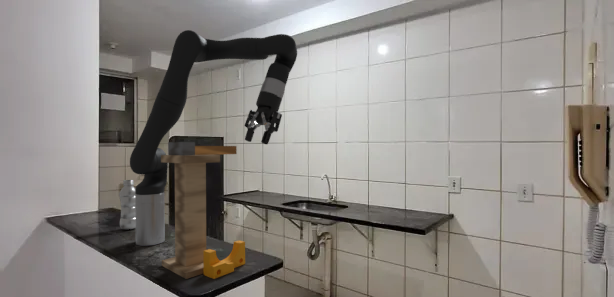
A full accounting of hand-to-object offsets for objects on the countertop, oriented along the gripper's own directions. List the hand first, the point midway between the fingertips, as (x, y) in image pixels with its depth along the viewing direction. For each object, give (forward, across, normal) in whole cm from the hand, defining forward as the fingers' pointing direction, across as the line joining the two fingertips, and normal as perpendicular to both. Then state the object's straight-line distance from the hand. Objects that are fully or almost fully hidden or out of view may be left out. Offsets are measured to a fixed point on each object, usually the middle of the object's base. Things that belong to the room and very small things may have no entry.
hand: (255, 142), depth 103 cm
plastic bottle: (+45, -58, -4) cm, 73 cm away
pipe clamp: (+37, +10, -4) cm, 39 cm away
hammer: (+8, -2, -13) cm, 16 cm away
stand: (+39, +1, -9) cm, 40 cm away
